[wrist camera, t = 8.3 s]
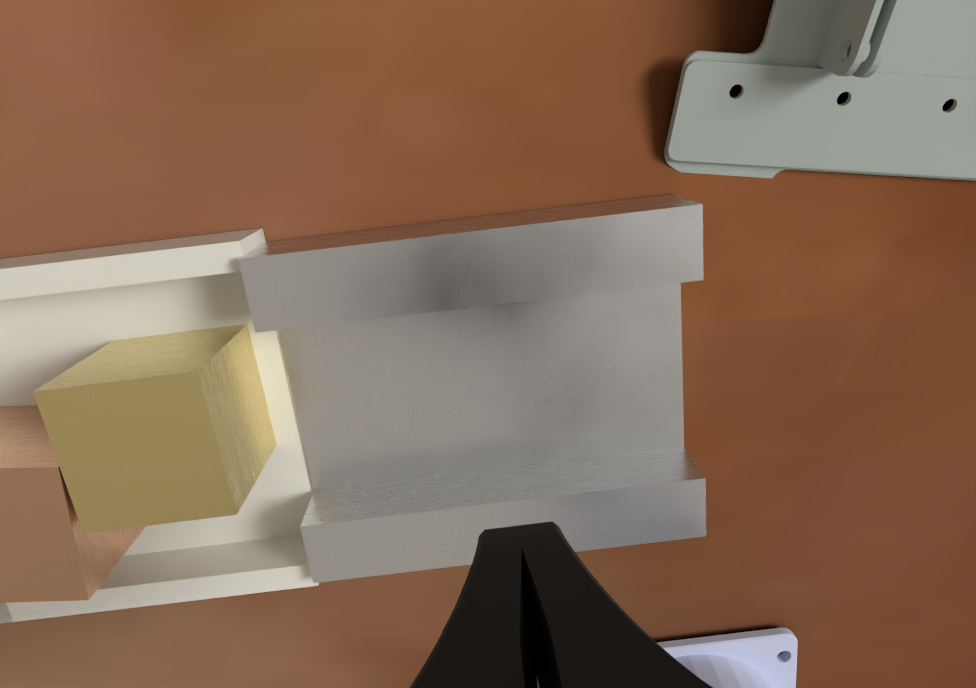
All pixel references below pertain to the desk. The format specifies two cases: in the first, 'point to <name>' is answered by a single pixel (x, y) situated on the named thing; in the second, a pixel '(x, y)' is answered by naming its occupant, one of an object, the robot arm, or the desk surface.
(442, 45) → the desk surface
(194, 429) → the brass cube
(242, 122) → the desk surface
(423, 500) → the aluminium channel
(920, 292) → the desk surface
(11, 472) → the copper cube
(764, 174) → the metal bracket
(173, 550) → the tray
